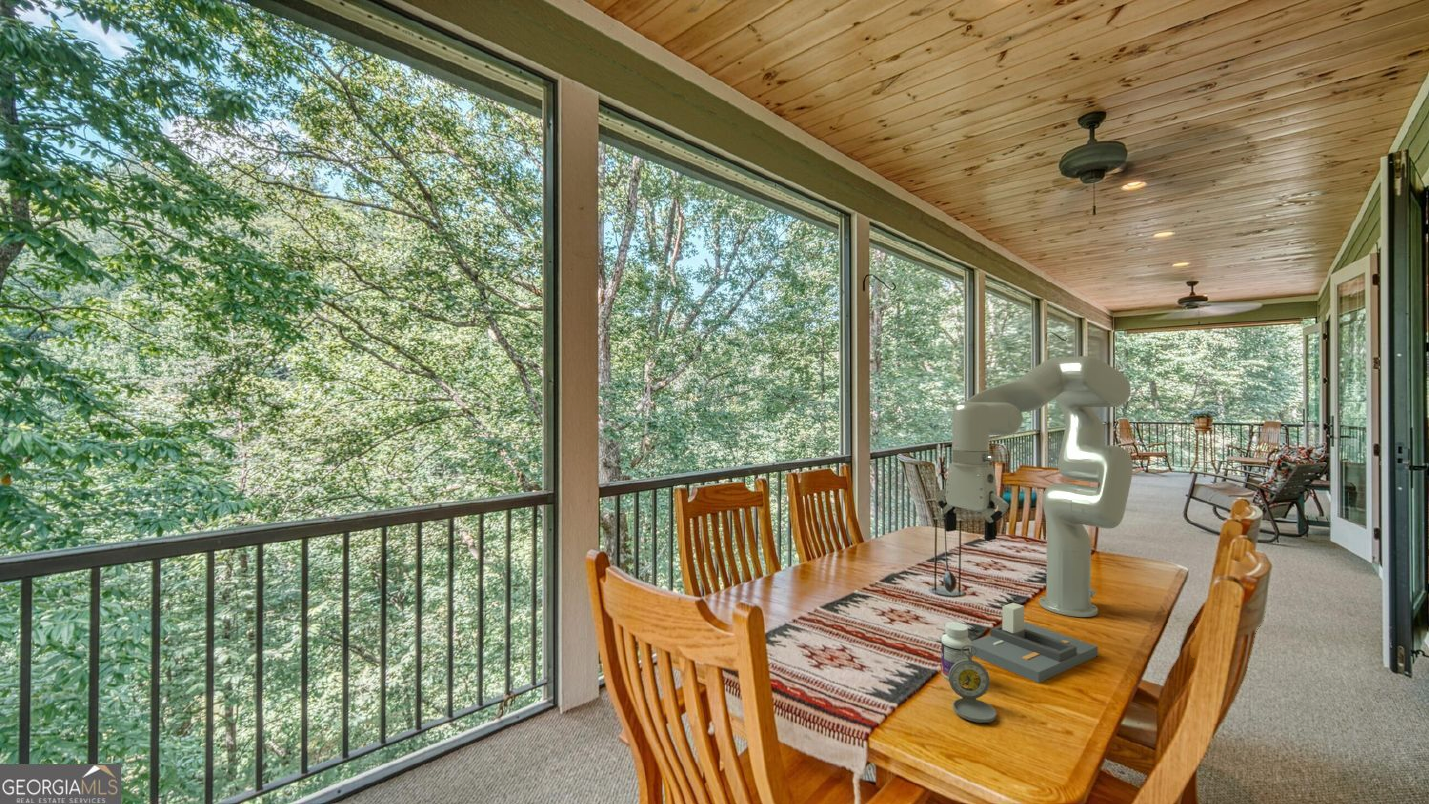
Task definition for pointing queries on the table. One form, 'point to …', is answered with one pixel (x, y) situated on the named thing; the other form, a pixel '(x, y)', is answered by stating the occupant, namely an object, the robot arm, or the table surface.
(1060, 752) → the table surface
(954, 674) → the pocket watch
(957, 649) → the pill bottle
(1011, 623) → the fader
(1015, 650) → the console
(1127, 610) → the table surface
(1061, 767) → the table surface
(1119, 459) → the robot arm
